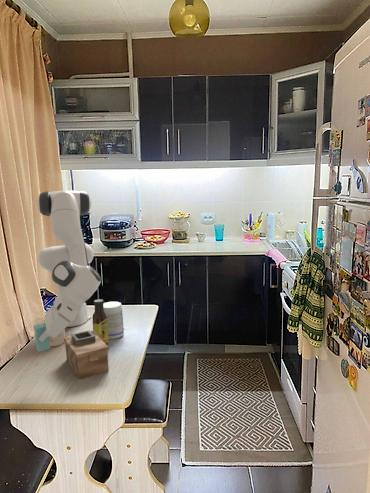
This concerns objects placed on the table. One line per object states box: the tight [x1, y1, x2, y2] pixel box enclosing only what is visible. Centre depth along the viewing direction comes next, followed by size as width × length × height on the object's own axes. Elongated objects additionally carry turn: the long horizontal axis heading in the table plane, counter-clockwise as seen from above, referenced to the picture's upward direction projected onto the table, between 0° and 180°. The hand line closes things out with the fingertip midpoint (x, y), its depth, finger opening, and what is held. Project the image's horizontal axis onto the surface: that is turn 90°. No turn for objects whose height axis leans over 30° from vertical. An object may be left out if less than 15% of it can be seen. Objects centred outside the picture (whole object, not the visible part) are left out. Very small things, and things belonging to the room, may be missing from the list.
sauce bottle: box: [91, 298, 109, 346], centre depth 176 cm, size 6×6×20 cm
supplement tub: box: [103, 301, 125, 340], centre depth 187 cm, size 10×10×15 cm
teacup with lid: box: [49, 328, 66, 347], centre depth 180 cm, size 12×9×12 cm
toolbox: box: [63, 329, 110, 380], centre depth 159 cm, size 19×12×12 cm, turn 30°
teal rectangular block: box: [33, 322, 51, 353], centre depth 146 cm, size 4×4×8 cm
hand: (40, 336), depth 146 cm, fingers closed on teal rectangular block, 4 cm apart
